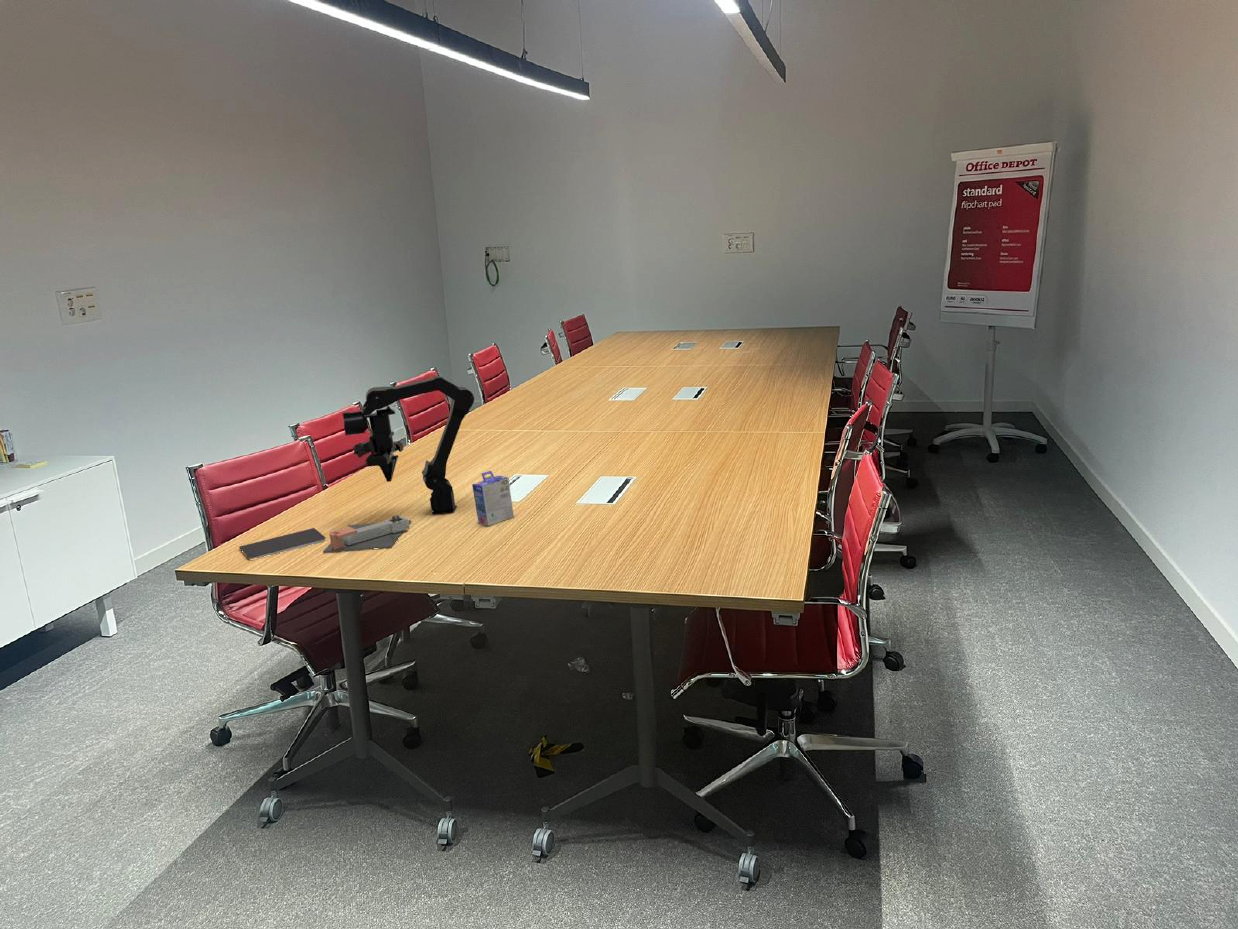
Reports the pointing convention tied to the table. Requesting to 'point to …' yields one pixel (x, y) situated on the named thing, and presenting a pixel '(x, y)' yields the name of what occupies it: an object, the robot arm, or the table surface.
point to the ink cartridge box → (492, 499)
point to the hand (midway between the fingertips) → (389, 481)
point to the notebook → (282, 543)
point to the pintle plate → (376, 542)
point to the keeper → (340, 536)
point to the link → (377, 530)
